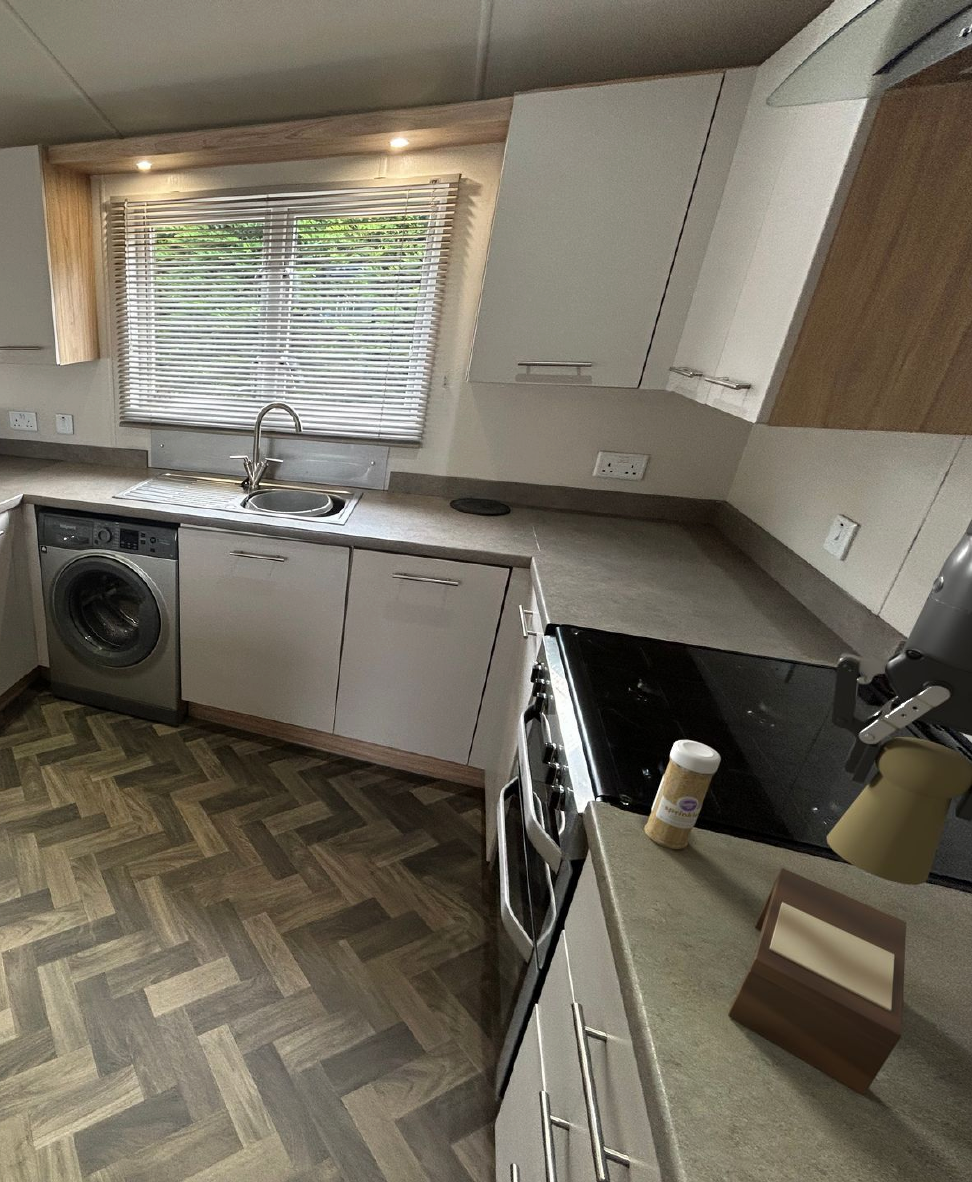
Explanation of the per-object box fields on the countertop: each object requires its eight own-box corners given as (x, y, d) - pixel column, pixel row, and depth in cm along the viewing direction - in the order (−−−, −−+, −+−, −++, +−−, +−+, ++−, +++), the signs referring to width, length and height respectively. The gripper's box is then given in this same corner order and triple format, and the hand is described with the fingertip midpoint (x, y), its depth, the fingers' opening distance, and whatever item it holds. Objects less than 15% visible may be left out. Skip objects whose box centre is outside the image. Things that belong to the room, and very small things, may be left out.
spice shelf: (756, 920, 69) (782, 865, 66) (874, 977, 63) (907, 920, 60) (727, 1016, 59) (755, 957, 56) (863, 1096, 53) (903, 1034, 50)
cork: (817, 821, 57) (867, 718, 53) (910, 848, 55) (970, 741, 51) (838, 865, 53) (894, 755, 49) (941, 896, 50) (1010, 782, 46)
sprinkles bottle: (659, 850, 78) (692, 760, 73) (635, 824, 82) (665, 737, 78) (696, 851, 78) (732, 761, 73) (670, 825, 82) (702, 738, 78)
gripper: (1173, 621, 42) (1044, 822, 49) (871, 567, 52) (795, 739, 59) (1202, 654, 38) (1055, 871, 44) (864, 587, 48) (783, 772, 54)
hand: (907, 794), depth 51 cm, fingers closed on cork, 5 cm apart
